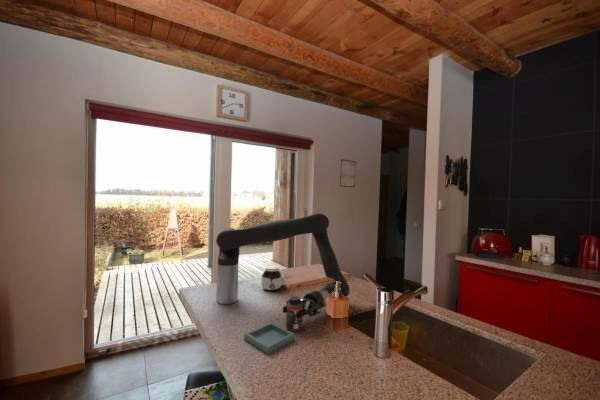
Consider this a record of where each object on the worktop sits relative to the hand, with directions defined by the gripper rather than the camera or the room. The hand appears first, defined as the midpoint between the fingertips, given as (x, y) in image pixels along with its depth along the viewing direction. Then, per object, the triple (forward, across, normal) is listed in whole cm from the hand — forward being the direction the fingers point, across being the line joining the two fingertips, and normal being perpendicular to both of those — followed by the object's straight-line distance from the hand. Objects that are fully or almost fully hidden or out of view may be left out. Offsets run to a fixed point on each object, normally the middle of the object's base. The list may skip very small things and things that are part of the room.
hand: (290, 312), depth 99 cm
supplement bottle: (-2, 0, +7) cm, 7 cm away
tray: (+10, -1, +6) cm, 12 cm away
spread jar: (-29, -36, +7) cm, 47 cm away
